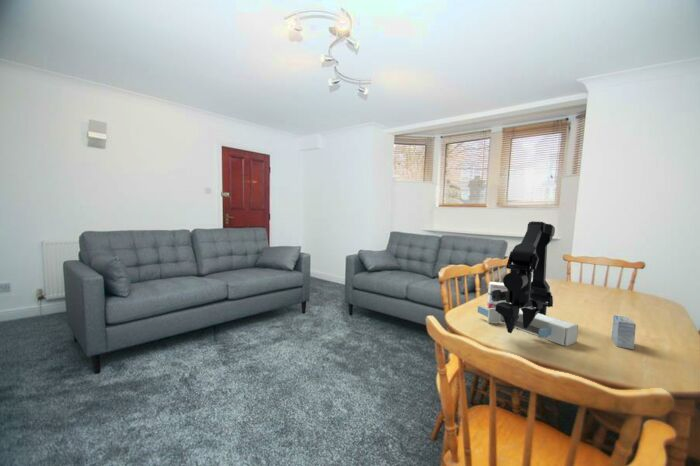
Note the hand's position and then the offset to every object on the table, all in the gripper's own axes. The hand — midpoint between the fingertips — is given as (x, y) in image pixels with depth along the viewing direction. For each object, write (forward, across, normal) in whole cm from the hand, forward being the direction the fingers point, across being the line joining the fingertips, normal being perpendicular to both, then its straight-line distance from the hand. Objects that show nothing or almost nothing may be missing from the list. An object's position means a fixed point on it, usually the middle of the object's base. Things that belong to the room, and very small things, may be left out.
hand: (517, 330), depth 103 cm
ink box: (+3, -25, -23) cm, 34 cm away
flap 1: (+3, -7, -16) cm, 18 cm away
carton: (+3, -13, -1) cm, 13 cm away
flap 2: (+3, -6, +8) cm, 10 cm away
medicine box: (+3, -30, +19) cm, 35 cm away
